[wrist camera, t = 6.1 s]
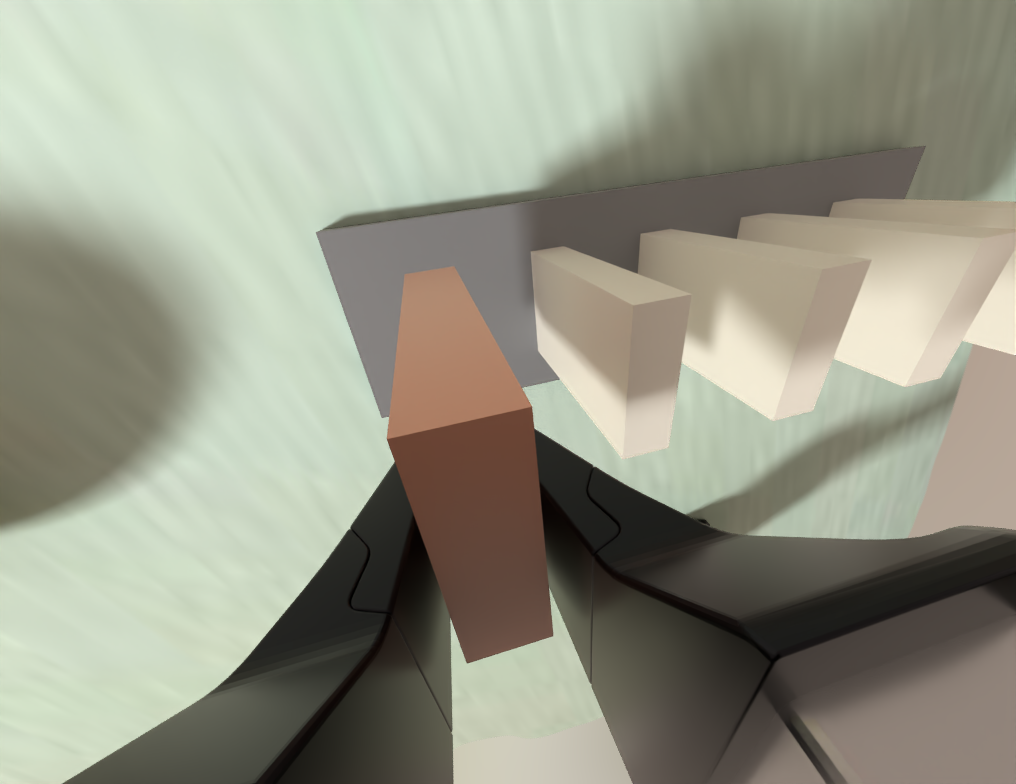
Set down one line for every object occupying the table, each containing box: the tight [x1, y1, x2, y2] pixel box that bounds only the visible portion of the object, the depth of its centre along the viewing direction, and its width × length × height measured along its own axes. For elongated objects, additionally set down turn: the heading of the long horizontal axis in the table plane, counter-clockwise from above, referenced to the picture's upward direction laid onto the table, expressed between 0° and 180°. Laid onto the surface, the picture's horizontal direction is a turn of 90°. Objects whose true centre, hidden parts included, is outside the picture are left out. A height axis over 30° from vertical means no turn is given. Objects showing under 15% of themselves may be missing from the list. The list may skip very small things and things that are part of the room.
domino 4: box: [829, 198, 1016, 355], centre depth 16 cm, size 5×2×9 cm, turn 6°
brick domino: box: [387, 266, 553, 663], centre depth 9 cm, size 5×2×9 cm, turn 6°
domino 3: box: [737, 213, 1016, 387], centre depth 16 cm, size 5×2×9 cm, turn 6°
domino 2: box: [638, 229, 872, 421], centre depth 15 cm, size 5×2×9 cm, turn 6°
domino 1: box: [531, 246, 692, 459], centre depth 14 cm, size 5×2×9 cm, turn 6°
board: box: [316, 146, 925, 418], centre depth 19 cm, size 9×30×1 cm, turn 96°
